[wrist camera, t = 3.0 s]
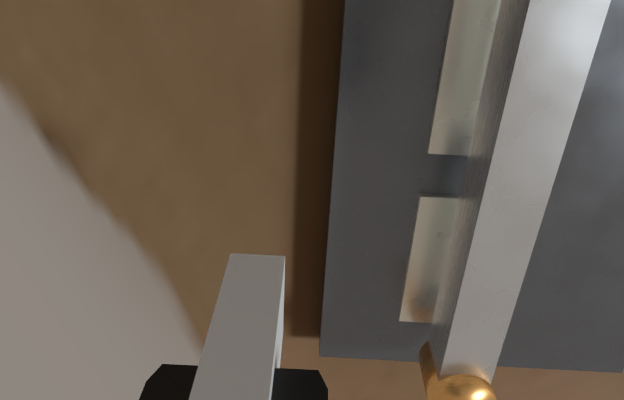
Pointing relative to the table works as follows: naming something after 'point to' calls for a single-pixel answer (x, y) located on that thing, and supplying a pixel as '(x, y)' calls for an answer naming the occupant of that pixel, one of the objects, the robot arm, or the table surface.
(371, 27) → the server tray
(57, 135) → the table surface
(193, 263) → the table surface
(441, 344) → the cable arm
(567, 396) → the table surface
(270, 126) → the table surface
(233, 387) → the robot arm
